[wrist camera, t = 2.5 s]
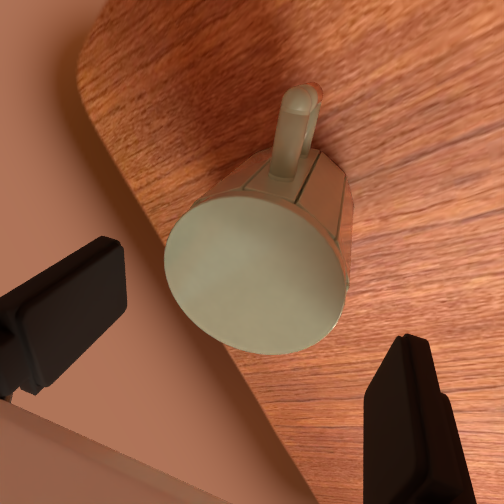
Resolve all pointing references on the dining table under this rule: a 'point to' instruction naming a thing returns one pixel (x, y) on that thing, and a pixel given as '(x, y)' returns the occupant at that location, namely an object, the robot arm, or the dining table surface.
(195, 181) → the dining table surface
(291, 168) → the cup
